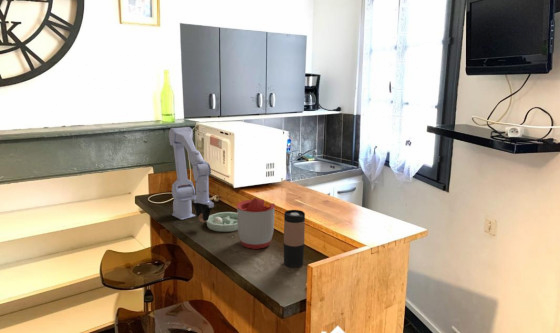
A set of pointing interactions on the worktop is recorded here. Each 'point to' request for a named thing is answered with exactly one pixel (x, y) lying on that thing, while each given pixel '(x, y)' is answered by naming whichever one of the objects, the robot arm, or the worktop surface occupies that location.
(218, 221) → the ivory bead
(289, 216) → the travel mug
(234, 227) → the tray
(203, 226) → the worktop surface
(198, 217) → the terracotta bead
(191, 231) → the worktop surface
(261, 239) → the citrus juicer
